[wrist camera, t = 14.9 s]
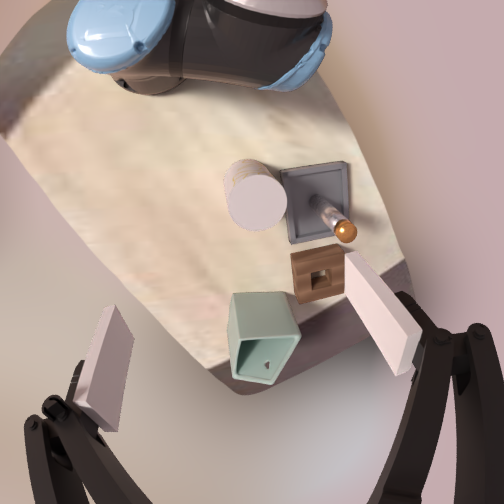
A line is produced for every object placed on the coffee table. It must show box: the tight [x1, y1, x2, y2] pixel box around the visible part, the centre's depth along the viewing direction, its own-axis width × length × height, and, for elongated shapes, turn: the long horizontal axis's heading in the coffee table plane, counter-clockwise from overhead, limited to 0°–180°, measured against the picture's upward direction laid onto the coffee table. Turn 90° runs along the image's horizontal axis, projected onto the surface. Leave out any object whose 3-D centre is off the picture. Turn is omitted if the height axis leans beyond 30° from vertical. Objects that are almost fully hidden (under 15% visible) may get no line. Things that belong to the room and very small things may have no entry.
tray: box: [280, 161, 349, 245], centre depth 52 cm, size 14×12×2 cm
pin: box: [309, 194, 357, 243], centre depth 47 cm, size 3×3×14 cm
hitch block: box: [290, 244, 345, 304], centre depth 59 cm, size 10×10×4 cm
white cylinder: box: [224, 159, 287, 231], centre depth 45 cm, size 8×8×12 cm
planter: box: [227, 291, 301, 385], centre depth 54 cm, size 16×8×20 cm, turn 129°
